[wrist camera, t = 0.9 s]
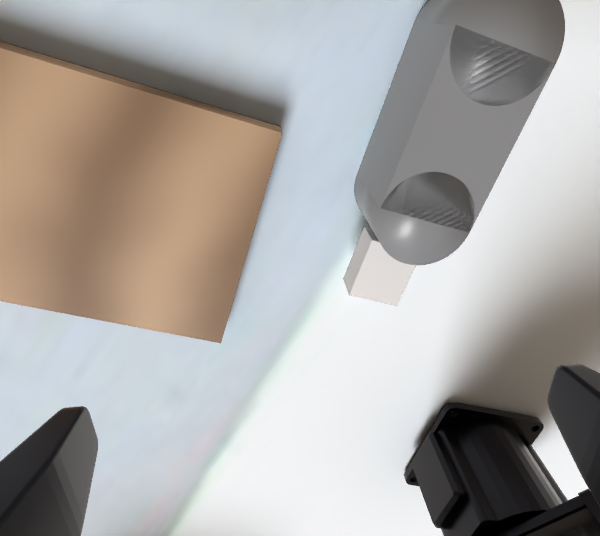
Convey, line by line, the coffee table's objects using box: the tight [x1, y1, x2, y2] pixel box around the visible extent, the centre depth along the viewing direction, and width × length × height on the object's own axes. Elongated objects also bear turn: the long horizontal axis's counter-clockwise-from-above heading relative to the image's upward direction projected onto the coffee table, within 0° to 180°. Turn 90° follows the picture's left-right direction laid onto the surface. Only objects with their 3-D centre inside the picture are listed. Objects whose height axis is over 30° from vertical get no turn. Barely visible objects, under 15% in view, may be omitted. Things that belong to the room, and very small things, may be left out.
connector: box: [343, 0, 565, 306], centre depth 18 cm, size 4×12×4 cm, turn 162°
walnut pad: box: [0, 41, 282, 343], centre depth 19 cm, size 11×10×1 cm
